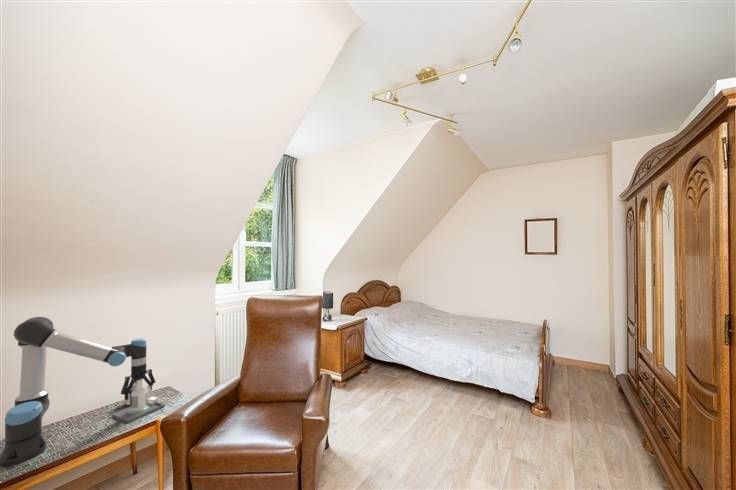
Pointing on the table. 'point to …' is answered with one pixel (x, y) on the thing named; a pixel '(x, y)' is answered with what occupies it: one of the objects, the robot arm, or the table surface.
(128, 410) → the charging dock
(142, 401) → the spray bottle
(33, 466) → the table surface
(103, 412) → the table surface
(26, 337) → the robot arm
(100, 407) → the table surface
